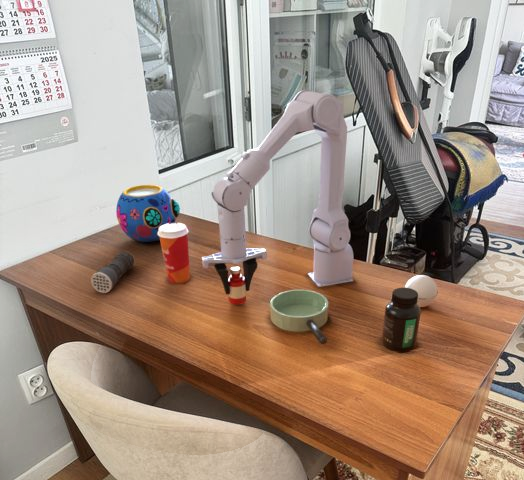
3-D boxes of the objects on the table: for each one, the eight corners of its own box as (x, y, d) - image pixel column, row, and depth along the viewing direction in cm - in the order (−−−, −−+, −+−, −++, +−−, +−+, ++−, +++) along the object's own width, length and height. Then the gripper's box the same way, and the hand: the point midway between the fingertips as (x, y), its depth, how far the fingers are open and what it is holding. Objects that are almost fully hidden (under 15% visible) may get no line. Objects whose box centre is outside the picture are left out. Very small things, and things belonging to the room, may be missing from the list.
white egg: (395, 305, 120) (399, 276, 116) (414, 294, 124) (418, 266, 120) (433, 321, 114) (438, 291, 110) (451, 309, 118) (457, 280, 114)
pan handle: (305, 325, 110) (305, 319, 110) (312, 324, 111) (312, 317, 110) (320, 346, 104) (320, 339, 103) (328, 345, 104) (328, 338, 103)
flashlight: (119, 266, 143) (115, 248, 140) (137, 267, 142) (134, 249, 139) (93, 292, 131) (88, 272, 128) (113, 293, 130) (108, 273, 127)
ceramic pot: (152, 254, 150) (144, 203, 141) (109, 243, 158) (99, 194, 149) (191, 234, 161) (185, 186, 153) (149, 225, 170) (142, 178, 161)
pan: (315, 300, 123) (315, 285, 121) (336, 327, 113) (337, 311, 111) (263, 310, 120) (263, 294, 118) (281, 337, 110) (280, 321, 108)
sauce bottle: (243, 294, 124) (242, 263, 120) (248, 302, 121) (246, 270, 116) (226, 297, 123) (224, 266, 119) (231, 305, 120) (228, 273, 115)
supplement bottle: (414, 356, 103) (423, 303, 96) (379, 351, 104) (385, 299, 98) (416, 338, 108) (424, 286, 101) (382, 334, 110) (388, 283, 103)
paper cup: (165, 273, 139) (158, 222, 131) (194, 271, 139) (188, 220, 131) (163, 286, 132) (155, 234, 124) (193, 284, 133) (187, 232, 125)
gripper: (203, 246, 108) (209, 303, 116) (269, 237, 112) (271, 293, 119) (197, 235, 114) (203, 290, 122) (260, 226, 117) (262, 280, 125)
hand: (236, 290), depth 121 cm, fingers closed on sauce bottle, 4 cm apart
